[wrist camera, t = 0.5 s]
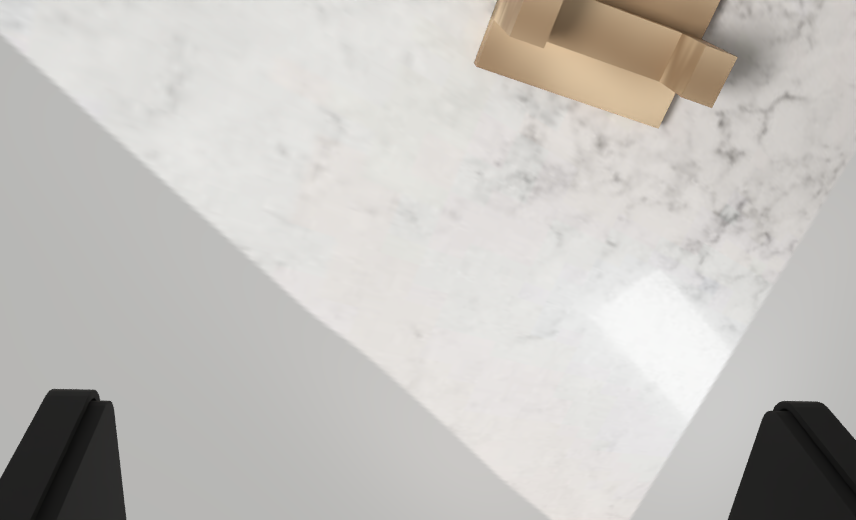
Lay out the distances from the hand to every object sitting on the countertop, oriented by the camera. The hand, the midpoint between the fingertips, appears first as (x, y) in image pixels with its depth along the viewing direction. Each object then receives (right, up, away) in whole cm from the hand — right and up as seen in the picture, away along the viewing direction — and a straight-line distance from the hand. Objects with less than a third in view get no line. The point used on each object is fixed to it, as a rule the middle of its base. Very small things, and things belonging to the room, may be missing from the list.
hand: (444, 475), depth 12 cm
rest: (+9, +17, +26) cm, 32 cm away
